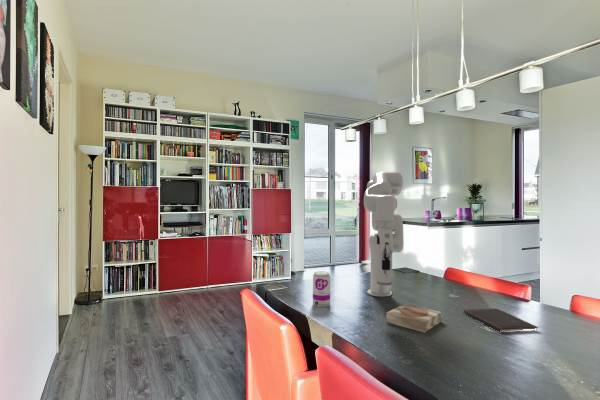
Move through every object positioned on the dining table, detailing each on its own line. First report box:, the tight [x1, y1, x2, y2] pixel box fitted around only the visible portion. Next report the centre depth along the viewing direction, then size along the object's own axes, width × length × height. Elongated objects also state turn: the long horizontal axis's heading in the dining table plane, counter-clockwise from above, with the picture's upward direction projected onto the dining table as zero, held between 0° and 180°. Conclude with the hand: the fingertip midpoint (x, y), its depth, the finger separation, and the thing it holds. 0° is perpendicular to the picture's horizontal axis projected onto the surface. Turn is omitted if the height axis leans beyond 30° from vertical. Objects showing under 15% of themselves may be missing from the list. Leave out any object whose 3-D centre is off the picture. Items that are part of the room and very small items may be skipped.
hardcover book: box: [463, 308, 539, 332], centre depth 147 cm, size 16×23×2 cm
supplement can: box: [312, 271, 331, 308], centre depth 168 cm, size 8×8×15 cm
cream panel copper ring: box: [385, 303, 442, 333], centre depth 146 cm, size 16×16×4 cm
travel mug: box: [377, 235, 393, 285], centre depth 149 cm, size 6×7×20 cm
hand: (384, 267), depth 149 cm, fingers closed on travel mug, 6 cm apart
